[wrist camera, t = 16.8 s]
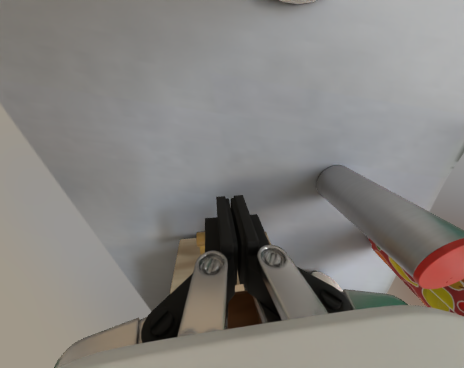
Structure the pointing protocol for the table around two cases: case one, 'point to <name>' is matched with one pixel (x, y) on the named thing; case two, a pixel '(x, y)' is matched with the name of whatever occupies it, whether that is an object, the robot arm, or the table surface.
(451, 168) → the table surface
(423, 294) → the smoothie
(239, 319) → the drawer
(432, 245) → the spice tin
